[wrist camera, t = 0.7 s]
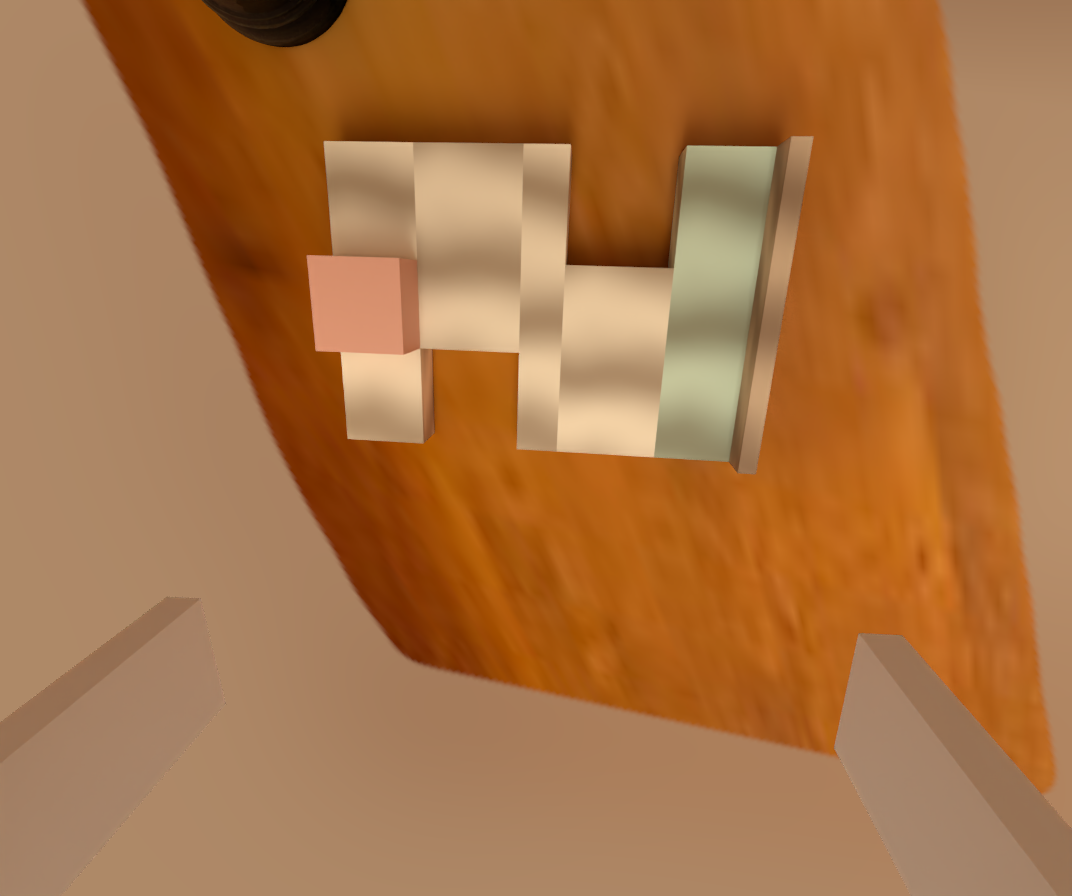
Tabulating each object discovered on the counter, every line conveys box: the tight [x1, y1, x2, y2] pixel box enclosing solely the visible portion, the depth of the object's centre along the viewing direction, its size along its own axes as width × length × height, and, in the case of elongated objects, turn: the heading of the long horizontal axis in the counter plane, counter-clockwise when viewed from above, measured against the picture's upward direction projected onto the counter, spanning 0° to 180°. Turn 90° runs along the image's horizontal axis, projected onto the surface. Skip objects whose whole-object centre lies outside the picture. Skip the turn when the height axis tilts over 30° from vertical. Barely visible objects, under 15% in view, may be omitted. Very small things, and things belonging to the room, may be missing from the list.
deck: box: [324, 136, 813, 474], centre depth 30 cm, size 17×25×4 cm
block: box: [307, 255, 420, 355], centre depth 30 cm, size 5×5×3 cm
